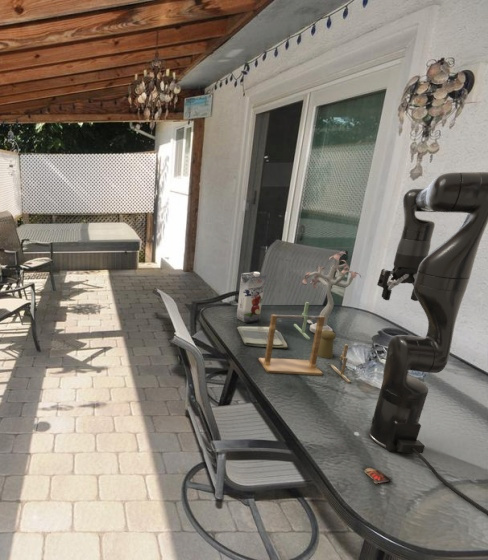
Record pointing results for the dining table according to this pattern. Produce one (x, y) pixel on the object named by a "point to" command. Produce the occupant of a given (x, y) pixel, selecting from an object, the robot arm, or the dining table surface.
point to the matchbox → (377, 475)
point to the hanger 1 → (304, 322)
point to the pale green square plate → (260, 337)
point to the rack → (292, 364)
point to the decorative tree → (329, 287)
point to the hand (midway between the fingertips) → (399, 299)
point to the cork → (326, 344)
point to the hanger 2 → (343, 364)
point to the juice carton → (250, 296)
